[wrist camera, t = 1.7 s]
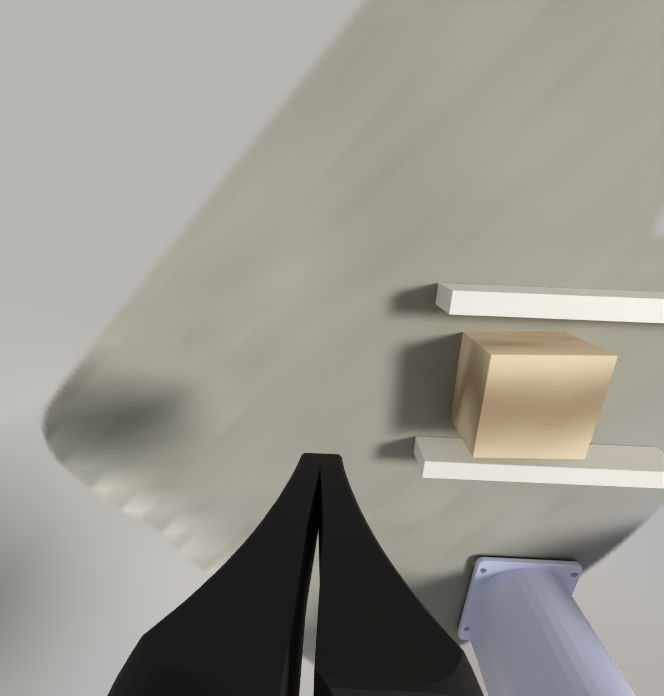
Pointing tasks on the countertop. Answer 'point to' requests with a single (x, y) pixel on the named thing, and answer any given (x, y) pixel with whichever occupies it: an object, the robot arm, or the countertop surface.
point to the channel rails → (601, 460)
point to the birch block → (529, 394)
